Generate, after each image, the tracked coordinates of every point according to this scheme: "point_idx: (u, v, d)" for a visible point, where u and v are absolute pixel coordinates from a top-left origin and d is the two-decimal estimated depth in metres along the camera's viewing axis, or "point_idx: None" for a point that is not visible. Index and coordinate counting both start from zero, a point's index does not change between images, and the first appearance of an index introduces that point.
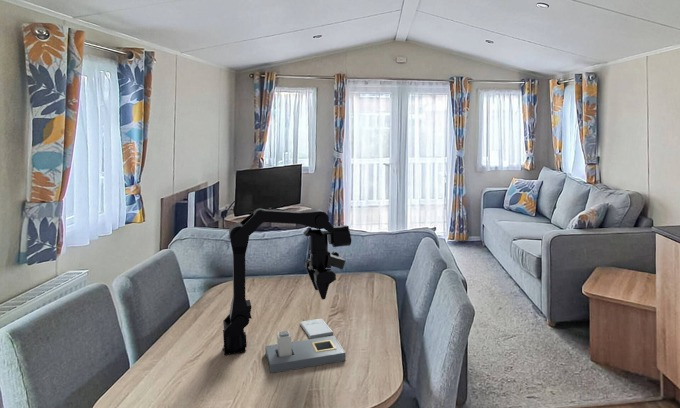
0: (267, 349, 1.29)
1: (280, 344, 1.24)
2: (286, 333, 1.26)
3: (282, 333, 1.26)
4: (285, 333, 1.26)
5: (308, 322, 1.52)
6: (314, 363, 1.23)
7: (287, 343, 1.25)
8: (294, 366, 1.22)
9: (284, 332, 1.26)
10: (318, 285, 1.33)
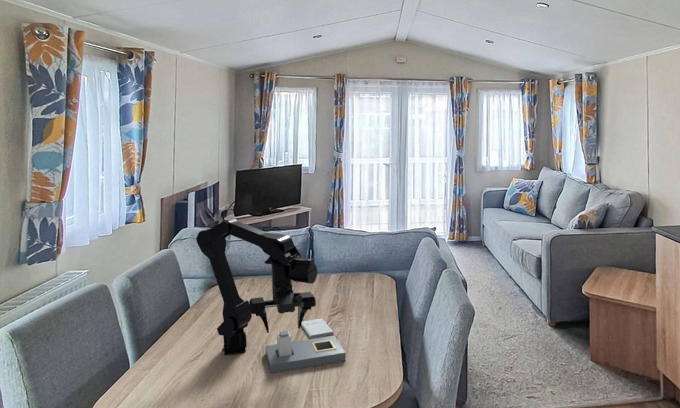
0: (267, 349, 1.29)
1: (280, 344, 1.24)
2: (286, 333, 1.26)
3: (282, 333, 1.26)
4: (285, 333, 1.26)
5: (308, 322, 1.52)
6: (314, 363, 1.23)
7: (287, 343, 1.25)
8: (294, 366, 1.22)
9: (284, 332, 1.26)
10: None
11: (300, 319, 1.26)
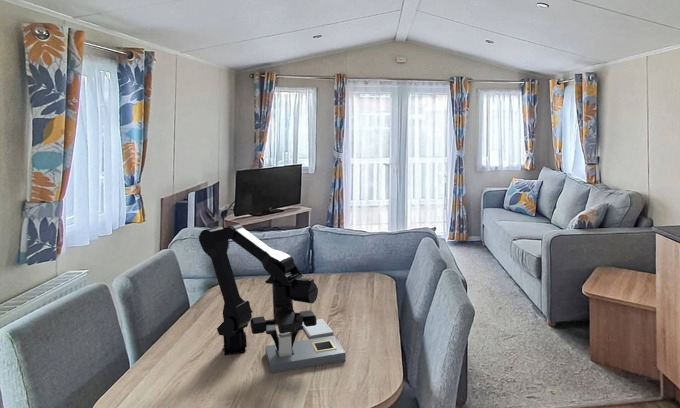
0: (267, 349, 1.29)
1: (280, 344, 1.24)
2: (286, 333, 1.26)
3: None
4: (285, 333, 1.26)
5: None
6: (314, 363, 1.23)
7: (287, 343, 1.25)
8: (294, 366, 1.22)
9: None
10: None
11: (292, 339, 1.26)
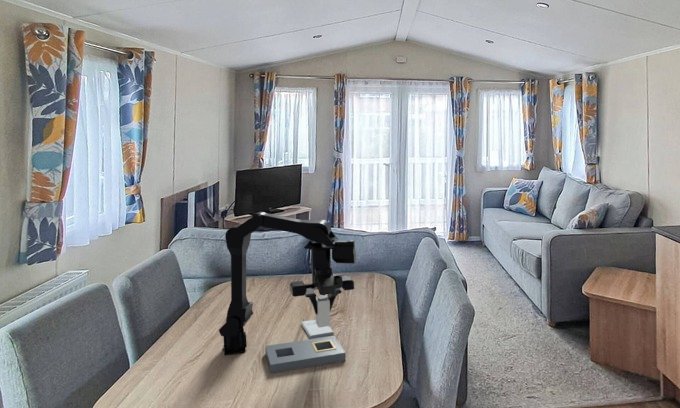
0: (267, 349, 1.29)
1: (319, 307, 1.26)
2: (324, 297, 1.28)
3: (321, 297, 1.28)
4: (323, 297, 1.27)
5: (309, 322, 1.52)
6: (314, 363, 1.23)
7: (326, 306, 1.27)
8: (294, 366, 1.22)
9: (323, 296, 1.28)
10: None
11: (330, 303, 1.28)
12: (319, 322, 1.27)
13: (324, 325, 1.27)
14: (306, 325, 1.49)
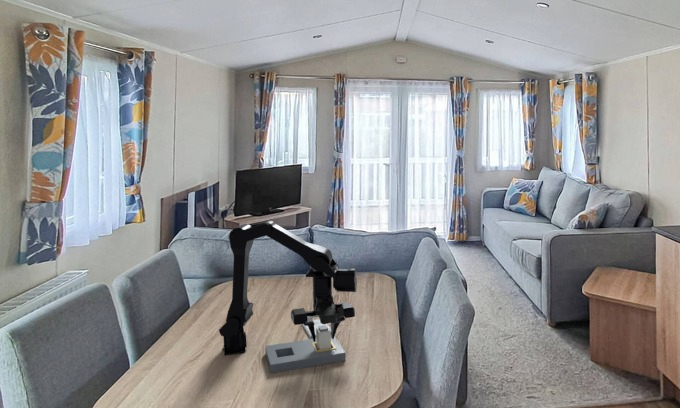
0: (267, 349, 1.29)
1: (320, 338, 1.28)
2: (325, 327, 1.29)
3: (322, 327, 1.29)
4: (324, 327, 1.29)
5: None
6: (314, 363, 1.23)
7: (327, 337, 1.28)
8: (294, 366, 1.22)
9: (324, 327, 1.29)
10: None
11: (334, 330, 1.29)
12: None
13: None
14: None
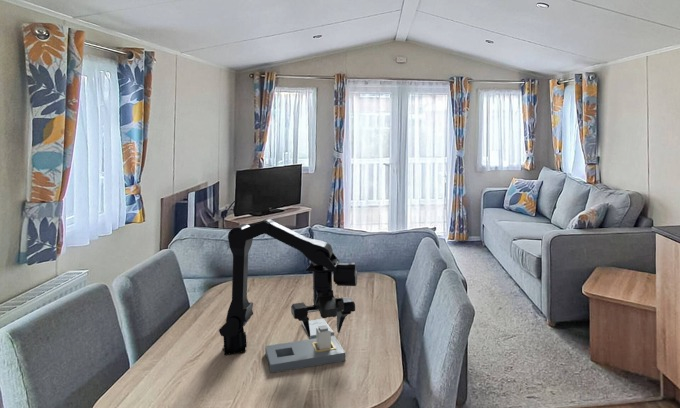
0: (267, 349, 1.29)
1: (320, 338, 1.28)
2: (325, 327, 1.29)
3: (322, 327, 1.29)
4: (324, 327, 1.29)
5: (309, 322, 1.52)
6: (314, 363, 1.23)
7: (327, 337, 1.28)
8: (294, 366, 1.22)
9: (324, 327, 1.29)
10: None
11: (340, 323, 1.30)
12: None
13: None
14: None
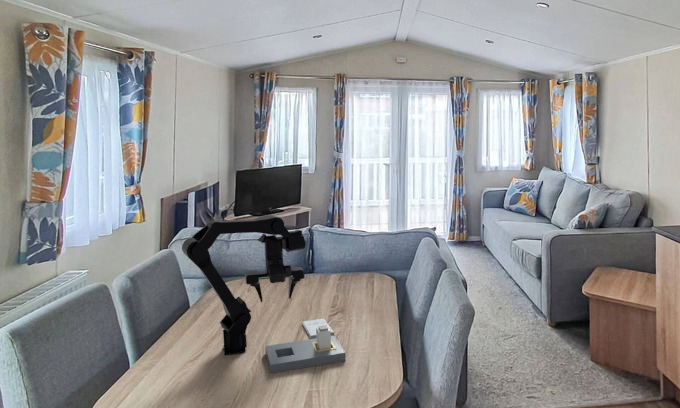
0: (267, 349, 1.29)
1: (320, 338, 1.28)
2: (325, 327, 1.29)
3: (322, 327, 1.29)
4: (324, 327, 1.29)
5: (310, 322, 1.52)
6: (314, 363, 1.23)
7: (327, 337, 1.28)
8: (294, 366, 1.22)
9: (324, 327, 1.29)
10: None
11: (290, 290, 1.40)
12: None
13: None
14: (307, 325, 1.49)
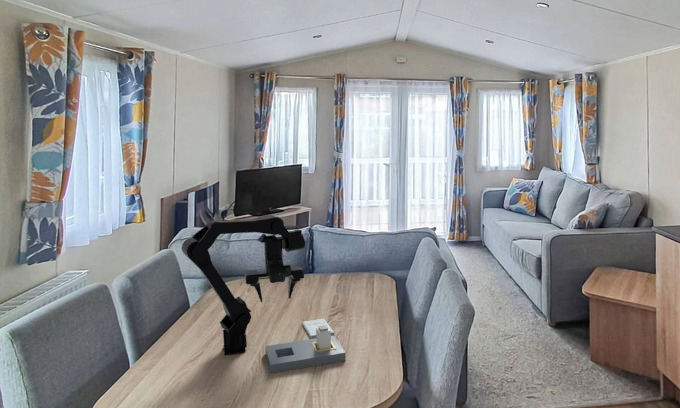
0: (267, 349, 1.29)
1: (320, 338, 1.28)
2: (325, 327, 1.29)
3: (322, 327, 1.29)
4: (324, 327, 1.29)
5: (310, 322, 1.52)
6: (314, 363, 1.23)
7: (327, 337, 1.28)
8: (294, 366, 1.22)
9: (324, 327, 1.29)
10: None
11: (290, 290, 1.40)
12: None
13: None
14: (307, 325, 1.49)
